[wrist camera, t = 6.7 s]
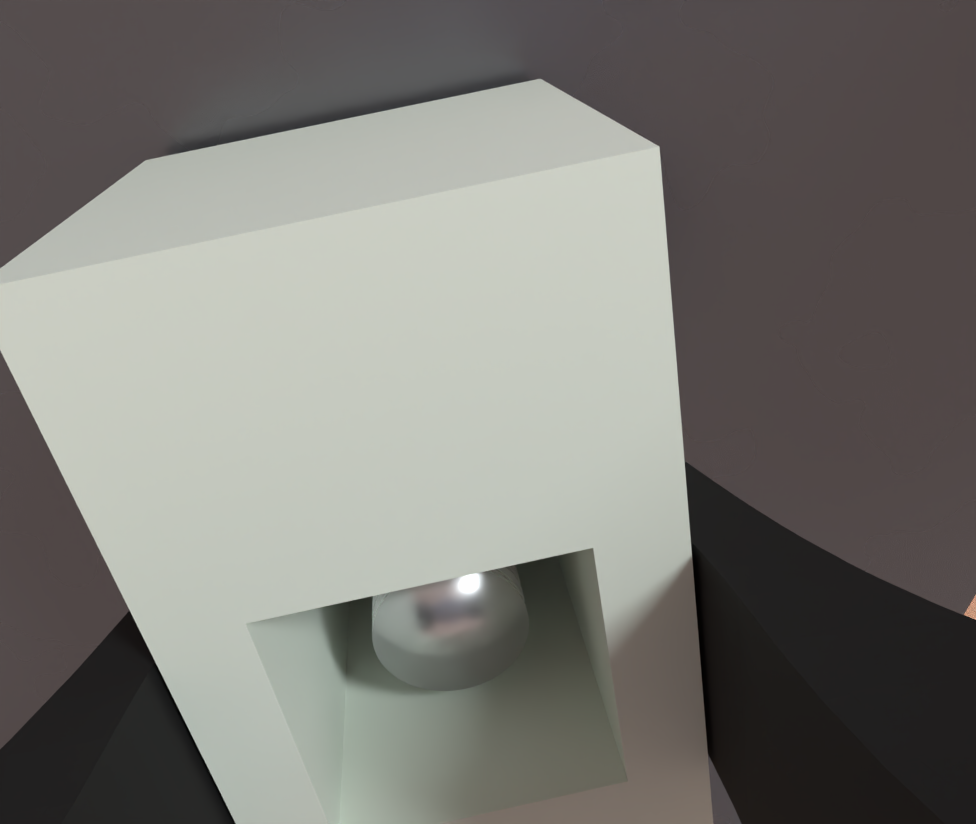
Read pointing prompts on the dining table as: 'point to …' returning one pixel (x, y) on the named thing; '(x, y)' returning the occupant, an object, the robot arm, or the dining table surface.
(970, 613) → the dining table surface
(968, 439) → the stand
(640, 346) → the block with square hole
